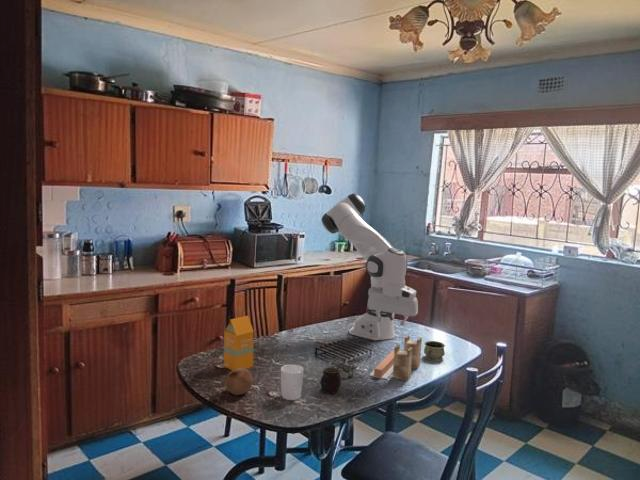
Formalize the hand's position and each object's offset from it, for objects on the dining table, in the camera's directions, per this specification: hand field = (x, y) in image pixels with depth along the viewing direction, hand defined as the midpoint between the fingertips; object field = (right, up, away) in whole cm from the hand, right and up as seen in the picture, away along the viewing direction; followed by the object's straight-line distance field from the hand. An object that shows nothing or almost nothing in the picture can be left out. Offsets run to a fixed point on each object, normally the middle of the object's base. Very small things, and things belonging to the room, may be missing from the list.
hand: (391, 323), depth 205 cm
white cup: (-39, -21, -27) cm, 52 cm away
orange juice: (-61, -17, -2) cm, 63 cm away
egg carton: (-20, -19, -5) cm, 28 cm away
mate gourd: (-25, -21, -21) cm, 39 cm away
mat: (-1, -18, +3) cm, 19 cm away
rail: (-1, -18, +2) cm, 18 cm away
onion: (-57, -20, -26) cm, 66 cm away
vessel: (+21, -18, +15) cm, 31 cm away
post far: (+9, -18, +5) cm, 21 cm away
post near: (+3, -20, -7) cm, 21 cm away
